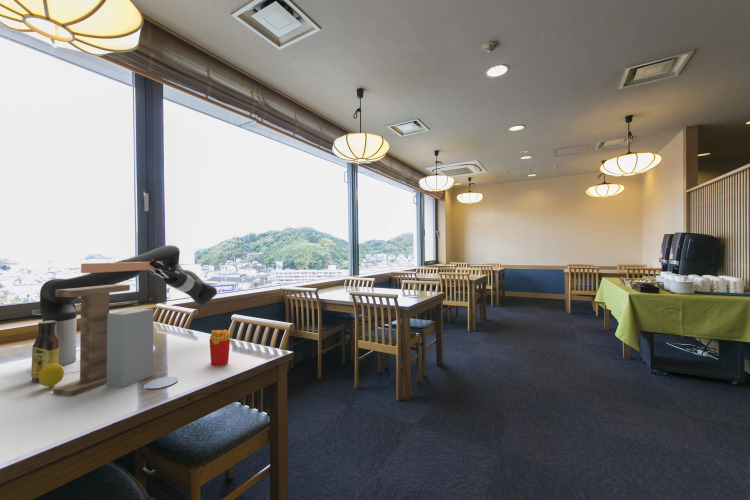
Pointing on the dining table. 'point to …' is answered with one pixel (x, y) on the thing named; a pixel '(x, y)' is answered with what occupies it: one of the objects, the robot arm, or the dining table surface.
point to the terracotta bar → (115, 267)
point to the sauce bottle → (44, 348)
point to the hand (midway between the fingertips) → (147, 262)
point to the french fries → (219, 347)
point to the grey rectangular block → (129, 346)
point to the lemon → (51, 374)
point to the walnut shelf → (91, 336)
